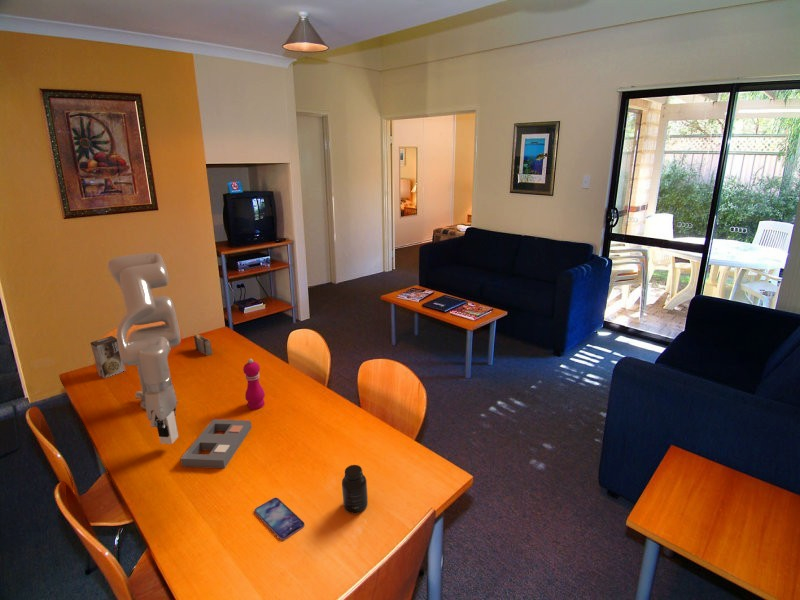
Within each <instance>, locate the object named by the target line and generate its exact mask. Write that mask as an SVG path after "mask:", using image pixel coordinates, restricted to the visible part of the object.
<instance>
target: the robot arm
mask: <svg viewBox="0 0 800 600" xmlns="http://www.w3.org/2000/svg"><path fill="white" fill-rule="evenodd" d="M107 269H108V271H109V274H110V275H111V277H112V279H114V281H115V283H117V285H118V287H119V288H120V290H121V292H122V297H123V301H124V305H125V309H126V313H125V315H124V316H123V317H122V318H121V321H120V322H119V323H118V326H117V331H116V338H117V343H118V348H119V353H120V357H121V360H122V362H123V363H124V366H128V367H129V366H131V367H132V366H136V369H137V373H138V376H139V382H140V387H141V391H140V390H137V391H136V392H135V399H139V400H141V401H140V408H141V409H143V410H146V417H147V420H148V421H150V425H149V426H150V428H151V427H152V428H156V429H157V432H158V438H159V437H168V436H169V432H168V427H167V426H166V423H165V418H166V417H167V416H168V415H169V414H170V413H171V412H172V411H174V415H175V417H176V410H177V408H176V407H177V405H178V400H177V399H178V398H177V394H176V392H175V389H174V386H173V383H172V378H171V372H170V367H169V366H170V365H169V361H168V356H169V354H170V352H171V349H172V348H175V347H178V346H179V345H180V343H181V340H182V337H181V336H182V335H181V331H180V326H179V322H178V317H177V312H176V308H175V304H174V301H173V300H172V298H171V297H169V296H167V295H160V296H154V295H153V290H152V289H157V288H163V287H167V286H168V284H169V282H170V275H169V273H168V267H167V265H166V263H165V261H164V259H163V257H162V255H161V254H160V253H158V252H146V253H138V254H129V255H120V256H116V257H113V258H111V259H109V260H108V261H107ZM159 322H163V323H164V324H157V325H151V326H146V327H142V328H138V329H135V330H133V331H131V332H130V333H129V335H128V339H127V334H128V331H129V330H130V329H131V328H132V326H143V325H149V324H154V323H159ZM159 421H162V423H159ZM176 426H177V427H178V425H177V424H176Z"/></svg>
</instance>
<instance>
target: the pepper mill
mask: <svg viewBox="0 0 800 600" xmlns="http://www.w3.org/2000/svg"><path fill="white" fill-rule="evenodd" d="M260 369H261V368H260V364H259V363H258V362H256V361H254V360H253V359H252V358H249V359H248V361H247V363H245V364H244V366H243V368H242V370H243V374H244V375H245V380H246V381H247V388H246V391H245V400H246V401H247V407H248V409H250V410H259V409H261V408H263V407H264V406H265V403H266V402H265V399H264V398H265V394H266V393H265V391H264V389H263V387H262V385H261V384H260V381H259V380H260V379H259V378H260Z"/></svg>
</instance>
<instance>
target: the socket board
mask: <svg viewBox="0 0 800 600" xmlns="http://www.w3.org/2000/svg"><path fill="white" fill-rule="evenodd" d="M251 430H252V422H251V420H245V419H244V420H242V419H217V418H216V419H214V418H213V419H212V420H211V421H210V422H209V423H208V424H207V426H206V427H205V428H204V429H203V431H202V432H201V433H200V434H199V436H198V437H197V438H196V439H195V440H194V442H193V443H192V444H191V446H189V448H188V449H187V450H186V451H185V453H184V454H183V455H182V456H181V458H180V462H181V467H187V468H188V467H189V468H208V469H209V468H210V469H211V468H212V469H225V468H226V467H227V466H228V464H229V463H230V461H231V460H232V458H233V457H234V455H235V454H236V452H237V451H238V449H240V448H239V447H240V446H241V445H242V443H243V442H244V440H245V438H246V437H247V435H248V434H249V432H250V431H251ZM216 432H224V433H216ZM201 451H210V452H209V453H208V454H205V453H204V454H201V453H200V452H201Z"/></svg>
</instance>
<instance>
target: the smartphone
mask: <svg viewBox="0 0 800 600" xmlns="http://www.w3.org/2000/svg"><path fill="white" fill-rule="evenodd" d="M254 514H255V515H256V516H257V517H258V518H259V519H260V520H261V521H262V522H263V523H264V524H265V525H266V526H267V528H269V530H270V531H271V532H273V534H274V535H275V536H276V537H277V538H278V539H279V540H280V541H285V540H288V539H290V538H291V536H293V535H295V534H296V533H298V532H299V531H301V530H302V529H304V528H305V524H306V523H305V522H304V521H303V520H302V518H300V517H299V516H298V515H297V514H296V513H295V512H293V510H292V509H290V508H289V507H288V506H287V505H286V504H285V503H284V502H283V501H282V500H281V499H280V498H279V497H273V498H271V499H269V500H268V501H265V502H264V503H262V504H260V505H259V506H257V507H256V508H255V509H254Z"/></svg>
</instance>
